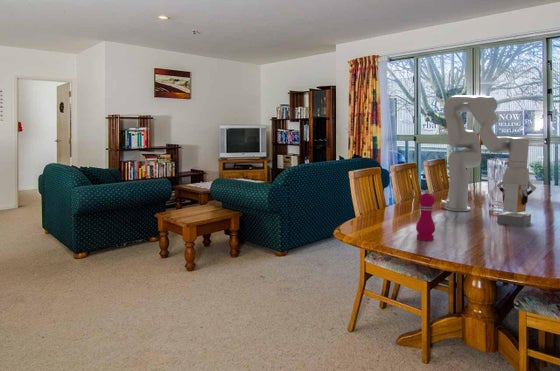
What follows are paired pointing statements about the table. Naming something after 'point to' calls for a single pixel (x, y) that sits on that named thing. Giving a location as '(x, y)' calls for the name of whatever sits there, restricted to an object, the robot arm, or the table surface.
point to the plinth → (514, 218)
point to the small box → (513, 198)
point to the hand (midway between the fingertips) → (514, 203)
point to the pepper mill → (426, 218)
